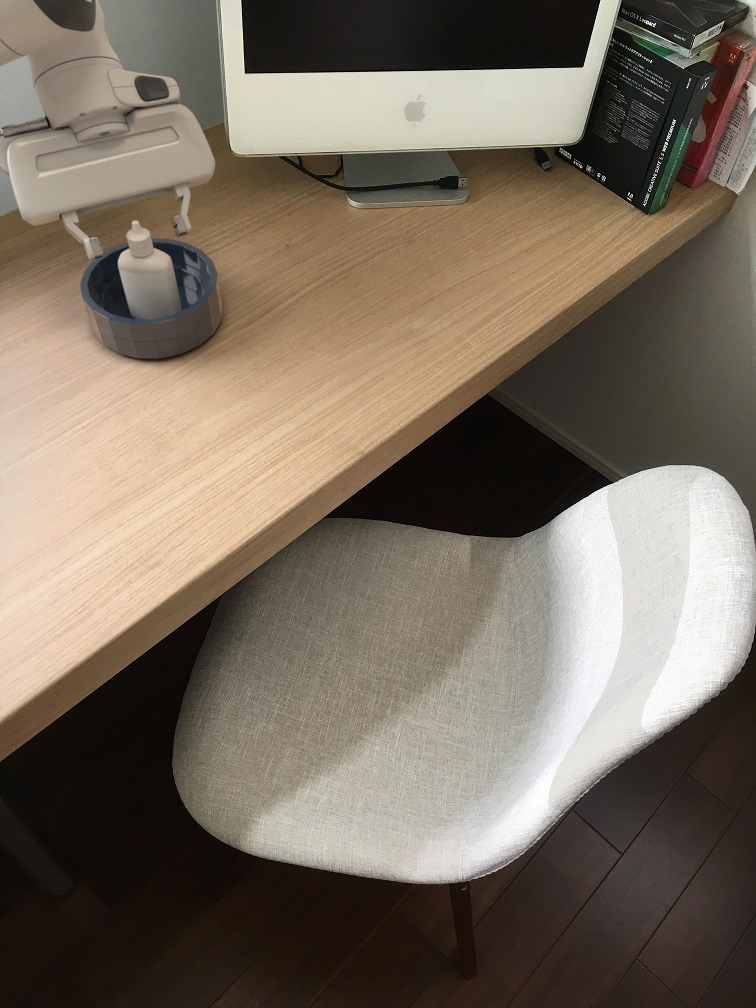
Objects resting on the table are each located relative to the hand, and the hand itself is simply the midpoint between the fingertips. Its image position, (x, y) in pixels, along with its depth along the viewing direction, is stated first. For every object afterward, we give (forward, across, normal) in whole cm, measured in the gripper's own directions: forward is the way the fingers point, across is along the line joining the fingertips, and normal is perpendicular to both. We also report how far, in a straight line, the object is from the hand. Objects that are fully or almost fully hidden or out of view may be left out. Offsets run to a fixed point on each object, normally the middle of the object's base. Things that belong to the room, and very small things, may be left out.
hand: (141, 245), depth 82 cm
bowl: (+7, 0, +8) cm, 10 cm away
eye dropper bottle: (+6, 0, +7) cm, 10 cm away
